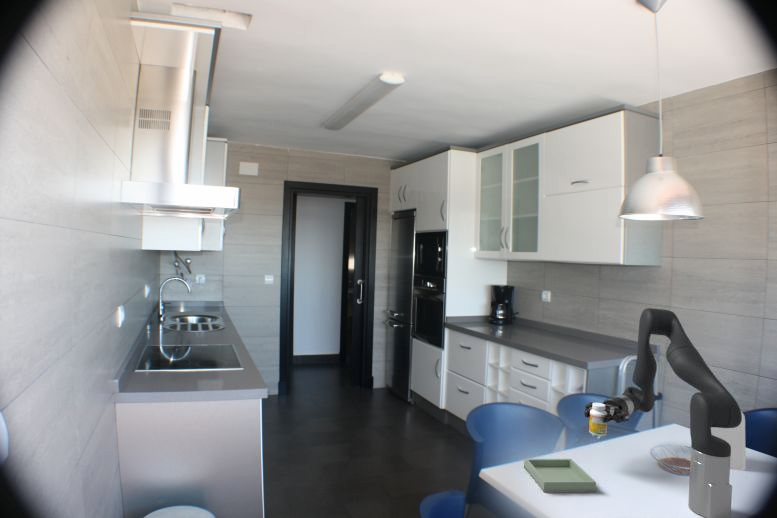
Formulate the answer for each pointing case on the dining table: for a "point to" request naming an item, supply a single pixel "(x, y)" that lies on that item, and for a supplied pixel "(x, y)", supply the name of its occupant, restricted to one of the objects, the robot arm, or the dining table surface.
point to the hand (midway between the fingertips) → (594, 416)
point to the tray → (559, 475)
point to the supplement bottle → (597, 420)
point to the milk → (734, 443)
